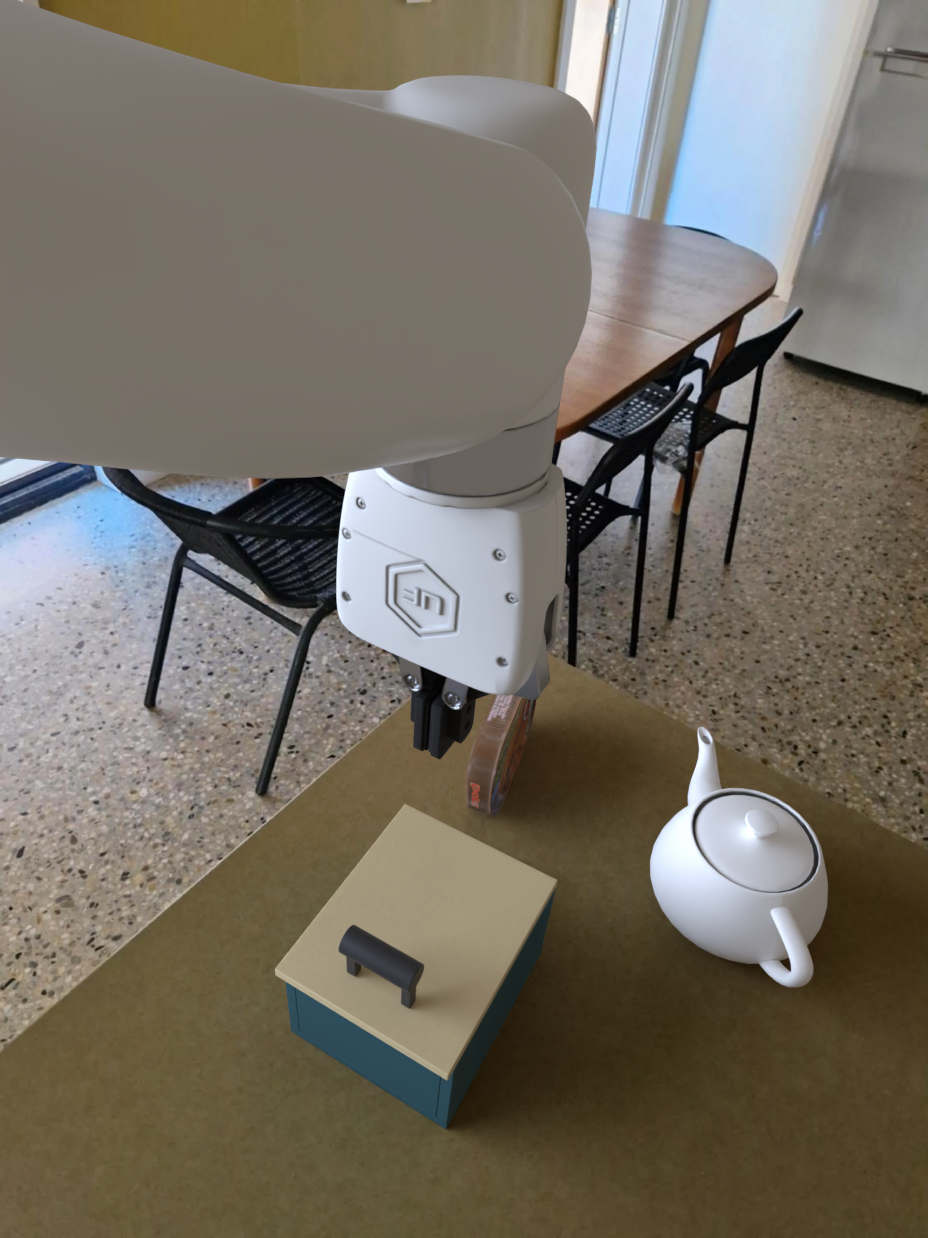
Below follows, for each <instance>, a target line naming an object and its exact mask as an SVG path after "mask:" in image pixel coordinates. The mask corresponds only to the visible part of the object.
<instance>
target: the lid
mask: <svg viewBox="0 0 928 1238" xmlns="http://www.w3.org/2000/svg"><path fill="white" fill-rule="evenodd" d="M557 885H558V879H556V878H555V877H553V876H550V875H549V874H546V873H544V872H542V871H540V870H538V869H537V868H534V867H533V866H531V865H529V864H527V863H525V862H522V861H520V860H518V859H516V858H515V857H512V856H511V855H508V854H506V853H505V852H502V851H500V850H499V849H497V848H495V847H492V846H491V845H489V844H486V843H485V842H483V841H480V840H478V839H476V838H474V837H473V836H471V835H469V834H466V833H465V832H463V831H460V830H458V829H456V828H455V827H452V826H450V825H449V824H447V823H444V822H443V821H440V820H439V819H437V818H435V817H433V816H431V815H429V814H427V813H425V812H423V811H421V810H419V809H416V808H415V807H412V806H411V805H409V804H408V803H407V804H406V803H404V805H402V807H401V808H400V810H399V811H398V812H397V814H395V816H394V817H393V818H392V820H391V821H390V822H389V824H388V825H387V826H386V827H385V829H384V830H383V831H382V833H381V834H380V835H379V836H378V837H377V838H376V840H375V841H374V843H373V844H372V845H371V847H370V848H369V849H368V850H367V852H366V853H365V854H364V856H362V858H360V860H359V862H357V865H355V867H354V868H353V869H352V871H350V873H349V874H348V875H347V877H346V878H345V880H344V881H343V882H342V883H341V885H340V886H339V887H338V888H337V890H336V891H335V892H334V893H333V895H332V896H331V897H330V898H329V899H328V901H327V902H326V904H325V905H324V906H323V907H322V909H321V910H320V911H319V912H318V914H316V916H315V918H314V919H313V920H312V921H311V923H310V924H309V925H308V926H307V927H306V929H305V930H304V931H303V933H302V934H301V936H300V937H299V938H298V939H297V940H296V941H295V943H294V944H293V946H292V947H291V948H290V949H289V951H288V952H287V953H286V954H285V956H284V957H283V958H282V959H281V961H280V962H279V963H278V965H277V966H276V967H275V969H274V974H275V976H276V977H278V978H279V979H281V980H282V981H284V982H285V981H286V982H287V983H289V984H291V985H292V986H294V987H295V988H297V989H299V990H300V991H302V992H304V993H305V994H307V995H308V996H310V997H312V998H313V999H315V1000H317V1001H318V1002H320V1003H322V1004H323V1005H325V1006H326V1007H328V1008H330V1009H331V1010H333V1011H335V1012H336V1013H338V1014H339V1015H341V1016H343V1017H344V1018H346V1019H348V1020H349V1021H351V1022H352V1023H354V1024H356V1025H357V1026H359V1027H361V1028H362V1029H364V1030H366V1031H367V1032H369V1033H370V1034H372V1035H374V1036H375V1037H377V1038H379V1039H380V1040H382V1041H383V1042H385V1043H387V1044H388V1045H390V1046H392V1047H393V1048H395V1049H396V1050H398V1051H400V1052H401V1053H403V1054H405V1055H406V1056H408V1057H409V1058H411V1059H413V1060H414V1061H416V1062H418V1063H419V1064H421V1065H423V1066H424V1067H426V1068H427V1069H429V1070H431V1071H432V1072H434V1073H436V1074H437V1075H439V1076H440V1077H442V1078H444V1079H445V1080H447V1081H448V1080H449V1078H450V1076H451V1074H452V1072H453V1071H454V1069H455V1067H456V1065H457V1063H458V1062H459V1060H460V1058H461V1056H462V1055H463V1053H464V1051H465V1049H466V1047H467V1046H468V1044H469V1042H470V1040H471V1038H472V1037H473V1035H474V1033H475V1031H476V1029H477V1028H478V1026H479V1024H480V1022H481V1021H482V1019H483V1017H484V1015H485V1013H486V1012H487V1010H488V1008H489V1006H490V1004H491V1003H492V1001H493V999H494V997H495V995H496V994H497V992H498V990H499V988H500V987H501V985H502V983H503V981H504V979H505V978H506V976H507V974H508V972H509V970H510V969H511V967H512V965H513V963H514V961H515V960H516V958H517V956H518V954H519V953H520V951H521V949H522V947H523V945H524V944H525V942H526V940H527V938H528V936H529V935H530V933H531V931H532V929H533V928H534V926H535V924H536V922H537V920H538V919H539V917H540V915H541V913H542V911H543V910H544V908H545V906H546V904H547V902H548V901H549V899H550V897H551V895H552V894H553V892H554V890H555V888H556V889H557V887H558V886H557ZM555 891H556V890H555ZM286 982H285V983H286Z"/></svg>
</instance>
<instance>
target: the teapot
mask: <svg viewBox="0 0 928 1238" xmlns="http://www.w3.org/2000/svg"><path fill="white" fill-rule="evenodd" d="M697 742H698V757H697V760H696V765H695V768H694V771H693V773H692V776H691V779H690V782H689V786H688V791H687V806H685V807H683V808H682V809H681V810H680V811H678V812H677V813H676V814H675V815H673V817H671V819H670V820H669V821H668V822H667V823H666V824H665V825H664V826H663V827H662V829H661V830H660V833H659V834H658V835H657V838H656V840H655V842H654V844H653V847H652V851H651V855H650V859H649V876H650V881H651V882H650V883H651V885H652V890H653V893H654V896H655V898H656V900H657V902H658V905H659V907H660V909H661V911H662V913H664V915H665V917H666V918H667V919H668V920H669V922H670V923H671V925H673V927H674V928H676V930H678V931H679V933H680V934H681V935H682V936H683V937H684V938H686V939H687V940H689V941H690V942H691V943H692V944H694V945H695V946H697V947H698V948H700V949H702V950H703V951H706V952H707V953H709V954H711V955H713V956H716V957H719V958H722V959H725V960H727V961H731V962H736V963H741V964H746V965H755V964H756V965H759V966H760V967H761V968H762V970H764V972H765V973H766V974H767V975H768V976H769V977H770V978H771V979H773V981H775V982H776V983H778V984H780V985H781V986H784V987H786V988H801V987H803V986H806V985H807V984H809V982H810V981H811V980H812V978H813V975H814V963H813V959H812V956H811V954H810V950H809V947H808V945H809V944H811V943H812V942H813V941H814V939H815V937H816V936H817V934H819V931H820V930H821V928H822V925H823V922H824V919H825V916H826V913H827V909H828V895H829V883H828V875H827V874H828V873H827V869H826V865H825V864H826V862H825V858H824V854H823V850H822V846H821V843H820V841H819V839H818V837H817V834H816V833H815V831H814V830H813V828H812V827H811V825H810V824H809V823H808V821H806V819H805V818H804V817H803V816H802V815H801V814H800V813H799V812H798V811H796V810H795V809H794V808H793V807H792V806H790V805H789V804H787V803H786V802H784V801H783V800H781V799H779V798H777V797H775V796H773V795H770V794H768V793H765V792H762V791H760V790H756V789H751V788H750V789H749V788H745V787H744V788H743V787H728V788H722V784H721V780H720V773H719V766H718V757H717V751H716V750H717V749H716V745H715V744H716V743H715V741H714V738H713V736H712V734H711V732H710V731H709V730H708V729H707V728H706V727H704V726H699V727H698V728H697ZM787 959H789V962H790V970H789V969H788V968H787V967H786V966H785V965H783V963H782V962H781V961H784V960H787Z"/></svg>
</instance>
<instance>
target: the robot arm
mask: <svg viewBox="0 0 928 1238" xmlns="http://www.w3.org/2000/svg"><path fill="white" fill-rule="evenodd" d="M597 149H598V147H597V138H596V128H595V125H594V122H593V118H592V116H591V114H590V113H589V111H588V110H587V108H586V107H585V106H584V105H583V104H582V102H580V100H578V99H577V98H575V97H574V96H573V95H572V96H571V95H569V94H568V93H566V92H564V91H562V90H560V89H558V88H555V87H551V86H547V85H543V84H539V83H535V82H530V81H525V80H519V79H512V78H506V77H498V76H488V75H487V76H485V75H467V74H466V75H465V74H464V75H462V74H461V75H460V74H459V75H456V74H455V75H435V76H427V77H420V78H416V79H413V80H410V81H408V82H405V83H402V84H399V85H398V86H397V87H395V88H393V89H389V90H385V89H384V90H382V89H381V90H378V89H377V90H376V89H375V90H374V89H373V90H371V89H350V88H333V87H320V86H311V85H303V84H295V83H286V82H279V81H275V80H271V79H268V78H265V77H261V76H257V75H254V74H251V73H247V72H243V71H240V70H236V69H234V68H230V67H227V66H224V65H220V64H216V63H213V62H210V61H207V60H203V59H201V58H200V59H199V58H197V57H193V56H190V55H187V54H183V53H180V52H177V51H174V50H171V49H167V48H164V47H161V46H157V45H154V44H152V43H148V42H144V41H142V40H138V39H135V38H131V37H128V36H125V35H122V34H119V33H115V32H113V31H109V30H106V29H103V28H101V27H97V26H95V25H92V24H88V23H85V22H82V21H80V20H77V19H73V18H70V17H67V16H65V15H62V14H59V13H56V12H53V11H50V10H47V9H45V8H41V7H39V6H36V5H32V4H30V3H27V2H24V1H21V0H0V458H2V459H3V458H6V459H18V460H30V461H40V462H54V463H55V462H56V463H63V464H73V465H84V466H94V467H103V468H104V467H105V468H113V469H120V470H121V469H123V470H132V471H143V472H153V473H164V474H165V473H166V474H175V475H186V476H187V475H188V476H200V477H201V476H202V477H213V478H215V477H216V478H231V479H232V478H237V479H269V480H270V479H299V478H303V479H304V478H316V477H326V476H338V475H345V474H348V476H347V481H346V486H345V490H344V496H343V501H342V508H341V515H340V521H339V522H340V523H339V530H338V541H337V555H336V580H335V581H336V582H335V583H336V585H335V586H336V589H335V590H336V592H335V593H336V595H335V597H336V609H337V614H338V617H339V620H340V622H341V624H342V625H343V626H344V627H345V628H346V629H347V630H348V631H349V632H350V633H351V634H352V635H354V636H355V637H357V638H359V639H361V640H363V641H364V642H366V643H369V644H371V645H373V646H375V647H377V648H379V649H381V650H383V651H386V652H388V653H390V654H391V656H392V657H393V659H395V661H396V662H397V663H398V665H399V670H400V677H401V682H402V684H403V686H404V687H405V688H406V689H408V690H409V691H411V694H410V717H409V718H410V722H413V737H412V740H413V741H412V747H413V748H414V749H416V750H418V751H420V752H424V751H428V753H429V755H430V756H431V757H434V758H435V759H437V760H442V758H443V757H444V756H445V755H446V753H447V752H448V751H449V749H451V747H452V745H453V744H455V742H456V743H458V744H460V745H461V744H463V742H464V741H465V740H466V739H467V737H468V736H469V734H470V733H471V731H472V729H473V726H474V721H475V712H476V703H477V700H478V699H481V698H484V697H487V696H489V695H493V696H494V695H503V696H506V695H512V696H517V697H521V698H526V699H530V700H536V701H537V700H538V699H539V698H540V696H541V695H542V694H543V692H544V691H545V689H546V688H547V687H548V685H549V684H550V683H551V675H550V665H549V658H548V657H549V656H548V649H550V648H552V646H553V645H554V643H555V641H556V638H557V636H558V632H559V627H560V623H561V616H562V609H563V601H564V594H565V593H564V592H565V583H566V569H567V568H566V567H567V552H568V551H567V546H568V525H567V524H568V521H567V519H568V518H567V517H568V516H567V503H566V489H565V482H564V474H563V473H564V472H563V470H562V468H560V467H559V466H558V465H555V464H554V463H552V462H553V461H552V459H553V454H554V446H555V441H556V434H557V427H558V420H559V413H560V407H561V400H562V394H563V387H564V382H565V375H566V368H567V367H568V365H569V363H570V361H571V359H572V357H573V355H574V354H575V351H576V349H577V348H578V345H579V341H580V339H581V336H582V333H583V331H584V328H585V326H586V322H587V317H588V313H589V308H590V307H589V306H590V302H591V293H592V280H593V279H592V278H593V269H592V257H591V246H590V241H589V238H588V233H587V225H588V219H589V211H590V205H591V199H592V191H593V186H594V185H593V184H594V178H595V170H596V162H597V161H596V160H597Z"/></svg>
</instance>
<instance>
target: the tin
mask: <svg viewBox="0 0 928 1238" xmlns="http://www.w3.org/2000/svg"><path fill="white" fill-rule="evenodd" d="M536 706H537V699H536V700H530V699H526V698H521V697H517V696H512V695H506V696H503V695H494V694H493V697H492V698H491V701H490V703H489V705H488V708H487V709H486V710H487V711H486V712H485V714H484V717H483V719H482V721H481V723H480V725H479V727H478V728H479V729H478V730H477V733H476V735H475V738H474V740H473V744H472V747H471V751H470V755H469V757H468V763H467V767H466V775H465V783H466V801H465V802H466V803H465V804H466V807H467V808H468V809H470V810H473V811H476V812H480V813H484V814H487V815H490V816H491V817H496V816H497V815H498V814H499V813H500V812H501V809H502V806H503V805H504V803H505V800H506V797H507V795H508V792H509V790H510V787H511V784H512V782H513V779H514V777H515V774H516V771H517V769H518V767H519V764H520V761H521V758H522V756H523V754H524V751H525V748H526V746H527V743H528V739H529V737H530V733H531V729H532V726H533V721H534V716H535V710H536Z"/></svg>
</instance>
